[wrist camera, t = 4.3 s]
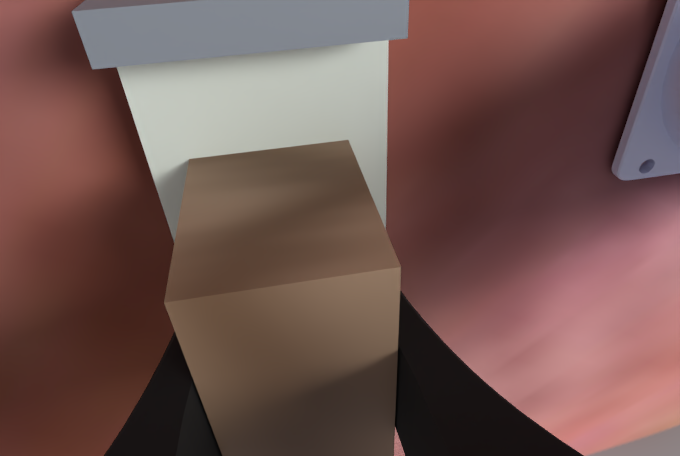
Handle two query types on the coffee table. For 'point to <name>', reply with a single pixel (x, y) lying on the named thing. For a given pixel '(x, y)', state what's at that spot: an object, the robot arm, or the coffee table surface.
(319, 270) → the tan cardboard box
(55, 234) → the coffee table surface
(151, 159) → the rail
